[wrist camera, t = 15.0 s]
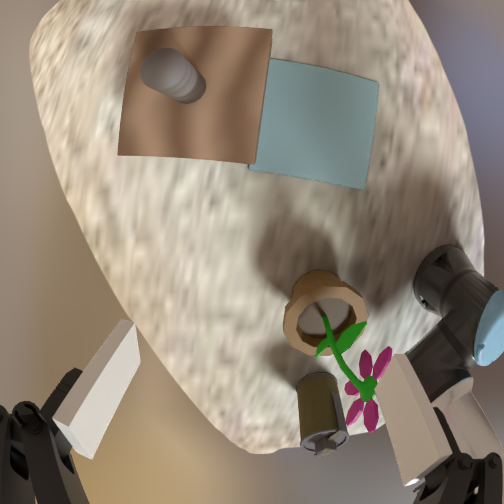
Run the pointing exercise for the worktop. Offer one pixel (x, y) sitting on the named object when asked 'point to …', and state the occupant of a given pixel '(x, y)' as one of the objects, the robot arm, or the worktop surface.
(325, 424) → the canister
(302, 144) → the mat
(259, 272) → the worktop surface
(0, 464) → the robot arm
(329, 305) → the flowerpot
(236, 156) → the lid
